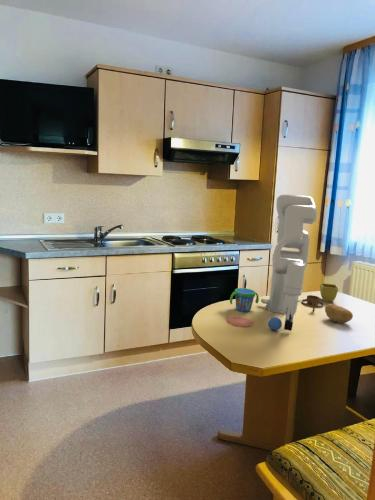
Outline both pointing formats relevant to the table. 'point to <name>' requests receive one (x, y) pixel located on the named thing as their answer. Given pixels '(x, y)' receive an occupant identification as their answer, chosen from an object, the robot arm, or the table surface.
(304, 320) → the table surface
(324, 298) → the flower pot
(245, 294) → the snack cup
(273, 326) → the ball
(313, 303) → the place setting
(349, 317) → the potato
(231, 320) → the disc
